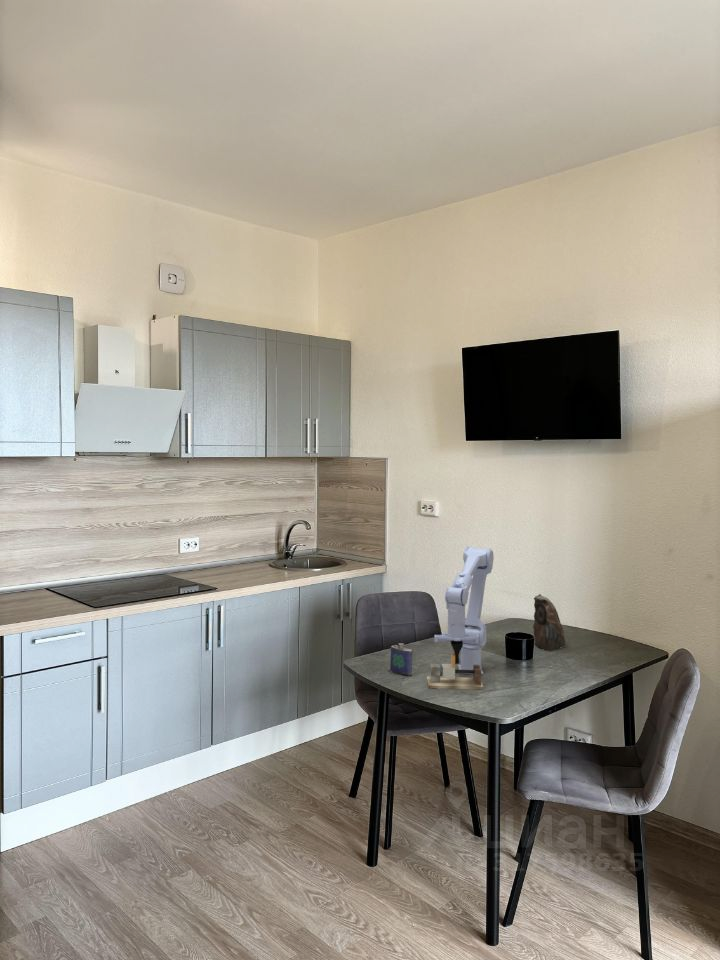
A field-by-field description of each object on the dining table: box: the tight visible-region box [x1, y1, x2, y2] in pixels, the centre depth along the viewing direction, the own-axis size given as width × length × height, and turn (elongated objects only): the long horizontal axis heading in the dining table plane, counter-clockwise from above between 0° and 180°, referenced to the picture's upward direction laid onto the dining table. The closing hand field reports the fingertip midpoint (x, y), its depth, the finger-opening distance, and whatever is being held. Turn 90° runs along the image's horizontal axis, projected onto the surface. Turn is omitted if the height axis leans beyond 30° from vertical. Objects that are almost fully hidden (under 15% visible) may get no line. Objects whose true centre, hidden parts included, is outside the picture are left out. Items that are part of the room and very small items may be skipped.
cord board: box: [426, 663, 484, 691], centre depth 245 cm, size 18×9×6 cm, turn 87°
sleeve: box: [441, 651, 456, 679], centre depth 245 cm, size 4×4×8 cm
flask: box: [389, 642, 413, 677], centre depth 257 cm, size 9×3×11 cm, turn 47°
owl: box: [532, 593, 566, 652], centre depth 293 cm, size 13×13×20 cm
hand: (456, 663), depth 245 cm, fingers closed, pressing on sleeve
